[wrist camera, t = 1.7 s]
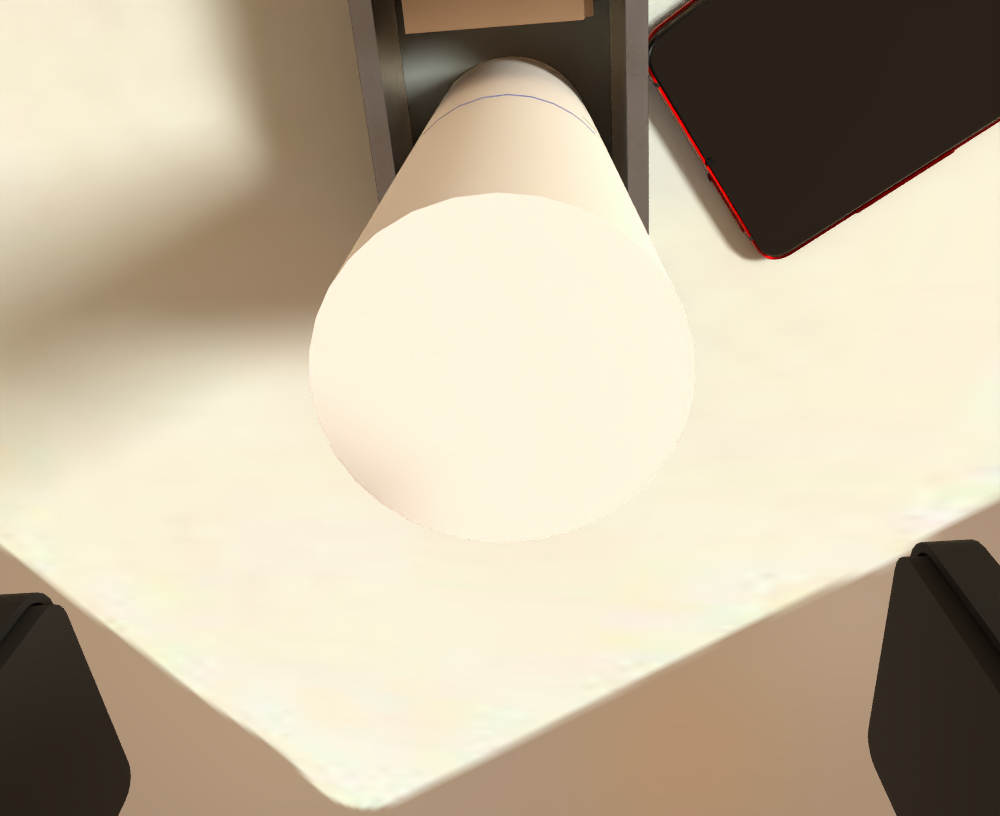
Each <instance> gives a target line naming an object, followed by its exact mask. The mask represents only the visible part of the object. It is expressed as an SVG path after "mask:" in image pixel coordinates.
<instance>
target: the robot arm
mask: <svg viewBox="0 0 1000 816" xmlns="http://www.w3.org/2000/svg"><path fill="white" fill-rule="evenodd" d="M868 743H869V749H870V754H871V758H872V761H873V764H874V767H875V769H876V771H877V774H878V776H879V778H880V780H881V782H882V785H883V787H884V789H885V791H886V793H887V795H888V798H889V800H890V802H891V804H892V806H893V809H894V811H895V813H896V815H897V816H1000V565H999V564H998V563H997V562H996V560H995V559H994V558H993V557H992V556H991V555H990V553H989V552H988V551H987V550H986V548H985V547H984V546H983V545H981V544H980V543H979V542H978V541H975V540H972V539H971V540H954V541H936V542H921V543H918V544H916V545H915V547H914V548H913V549H912V553H911V556H910V557H901V558H899V560H898V561H897V563H896V567H895V571H894V577H893V584H892V590H891V596H890V602H889V608H888V614H887V620H886V626H885V632H884V639H883V644H882V651H881V656H880V662H879V669H878V674H877V680H876V686H875V693H874V699H873V705H872V711H871V717H870V723H869V729H868ZM130 779H131V774H130V766H129V763H128V760H127V758H126V755H125V753H124V750H123V748H122V746H121V743H120V741H119V739H118V736H117V734H116V731H115V729H114V726H113V724H112V722H111V719H110V717H109V714H108V712H107V709H106V707H105V705H104V702H103V700H102V697H101V695H100V693H99V690H98V688H97V685H96V683H95V680H94V678H93V676H92V673H91V671H90V668H89V666H88V664H87V661H86V659H85V656H84V654H83V652H82V649H81V647H80V644H79V642H78V640H77V637H76V635H75V632H74V630H73V627H72V625H71V622H70V620H69V618H68V615H67V613H66V612H65V610H64V608H62V607H61V606H60V605H55V604H53V603H52V601H51V599H50V598H49V597H47V596H46V595H45V594H42V593H20V594H3V595H0V816H118V815H119V812H120V810H121V808H122V806H123V804H124V802H125V800H126V797H127V794H128V791H129V787H130Z"/></svg>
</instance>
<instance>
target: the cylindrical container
mask: <svg viewBox="0 0 1000 816" xmlns="http://www.w3.org/2000/svg"><path fill="white" fill-rule="evenodd" d="M309 376H310V391H311V395H312V399H313V402H314V406H315V410H316V414H317V418H318V422H319V424H320V426H321V428H322V430H323V432H324V434H325V436H326V438H327V440H328V442H329V444H330V446H331V448H332V450H333V452H334V454H335V455H336V457H337V458H338V459H339V460H340V462H341V463H342V464H343V465H344V467H345V468H346V469H347V471H348V472H349V473H350V474H351V476H352V477H353V478H354V479H355V481H356V482H357V483H358V484H360V485H361V486H362V487H363V488H364V489H365V490H366V491H368V492H369V493H370V494H371V495H372V496H373V497H374V498H376V499H377V500H378V501H379V502H380V503H382V504H383V505H385V506H386V507H388V508H390V509H391V510H393V511H395V512H396V513H398V514H399V515H401V516H403V517H404V518H406V519H408V520H410V521H412V522H415V523H417V524H419V525H422V526H424V527H427V528H429V529H431V530H434V531H436V532H440V533H444V534H448V535H452V536H456V537H460V538H464V539H468V540H478V541H491V542H504V543H506V542H517V541H528V540H540V539H544V538H548V537H552V536H555V535H559V534H563V533H567V532H571V531H574V530H577V529H579V528H581V527H583V526H586V525H588V524H590V523H592V522H594V521H596V520H599V519H601V518H603V517H605V516H607V515H609V514H610V513H611V512H613V511H614V510H616V509H617V508H619V507H620V506H622V505H623V504H624V503H626V502H627V501H629V500H630V499H632V498H633V497H634V496H635V495H636V494H637V493H639V492H640V491H641V490H642V489H643V488H644V487H645V486H646V485H647V484H648V483H649V482H650V481H651V480H652V479H653V478H654V477H655V476H656V475H657V473H658V472H659V470H660V469H661V468H662V466H663V465H664V463H665V462H666V460H667V459H668V458H669V456H670V455H671V453H672V452H673V451H674V449H675V447H676V445H677V442H678V440H679V438H680V436H681V433H682V431H683V429H684V427H685V424H686V422H687V420H688V417H689V412H690V407H691V402H692V398H693V393H694V388H695V348H694V344H693V340H692V336H691V332H690V328H689V324H688V320H687V316H686V312H685V310H684V308H683V306H682V304H681V302H680V300H679V298H678V295H677V293H676V291H675V289H674V287H673V285H672V283H671V281H670V279H669V277H668V275H667V273H666V271H665V269H664V267H663V265H662V262H661V260H660V258H659V256H658V254H657V252H656V250H655V248H654V246H653V244H652V242H651V240H650V238H649V236H648V234H647V232H646V230H645V227H644V225H643V223H642V221H641V219H640V217H639V215H638V213H637V211H636V209H635V207H634V205H633V203H632V201H631V199H630V197H629V194H628V192H627V190H626V188H625V186H624V184H623V182H622V180H621V178H620V176H619V174H618V172H617V170H616V168H615V166H614V164H613V161H612V159H611V157H610V155H609V153H608V151H607V149H606V147H605V145H604V143H603V141H602V139H601V137H600V135H599V133H598V131H597V129H596V127H595V125H594V123H593V121H592V119H591V117H590V115H589V113H588V111H587V109H586V107H585V105H584V103H583V101H582V99H581V97H580V95H579V93H578V92H577V90H576V89H575V88H574V87H573V85H572V84H571V83H570V82H569V80H568V79H567V78H565V77H564V76H563V75H562V74H561V73H559V72H558V71H557V70H556V69H554V68H552V67H550V66H548V65H547V64H545V63H543V62H540V61H537V60H533V59H530V58H526V57H515V56H508V57H501V58H494V59H491V60H488V61H486V62H483V63H480V64H478V65H476V66H475V67H473V68H471V69H470V70H468V71H467V72H465V73H464V74H463V75H462V76H461V77H460V78H459V79H458V80H457V81H456V82H455V83H454V84H453V85H452V86H451V87H450V89H449V90H448V92H447V93H446V95H445V96H444V98H443V99H442V101H441V103H440V104H439V106H438V108H437V109H436V111H435V113H434V114H433V116H432V117H431V119H430V121H429V122H428V124H427V126H426V127H425V129H424V131H423V132H422V134H421V136H420V137H419V139H418V141H417V142H416V144H415V146H414V147H413V149H412V151H411V152H410V154H409V156H408V157H407V159H406V161H405V162H404V164H403V166H402V167H401V169H400V171H399V172H398V174H397V176H396V177H395V179H394V180H393V182H392V184H391V185H390V187H389V189H388V190H387V192H386V194H385V195H384V197H383V199H382V200H381V202H380V204H379V205H378V207H377V209H376V210H375V212H374V214H373V215H372V217H371V219H370V220H369V222H368V224H367V225H366V227H365V229H364V230H363V232H362V234H361V235H360V237H359V238H358V240H357V242H356V243H355V245H354V247H353V248H352V250H351V252H350V253H349V255H348V257H347V258H346V260H345V262H344V263H343V265H342V267H341V268H340V270H339V272H338V273H337V275H336V277H335V278H334V280H333V282H332V283H331V285H330V287H329V288H328V291H327V293H326V295H325V298H324V300H323V302H322V305H321V307H320V309H319V312H318V314H317V316H316V319H315V324H314V329H313V334H312V339H311V344H310V349H309Z"/></svg>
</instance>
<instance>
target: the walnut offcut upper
mask: <svg viewBox="0 0 1000 816" xmlns="http://www.w3.org/2000/svg"><path fill="white" fill-rule="evenodd" d="M402 9H403V17H404V26H405V34H412V33H424V32H437V31H449V30H462V29H474V28H487V27H500V26H512V25H525V24H537V23H550V22H562V21H575V20H584V0H402Z"/></svg>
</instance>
